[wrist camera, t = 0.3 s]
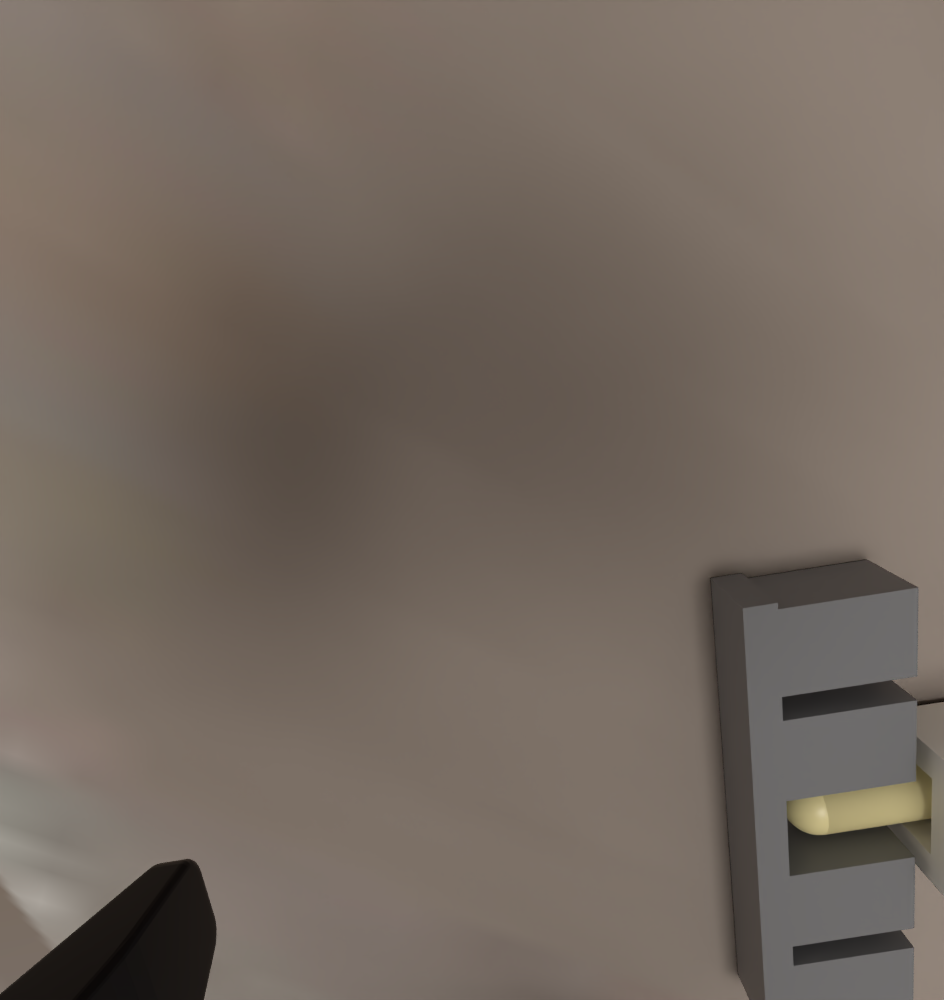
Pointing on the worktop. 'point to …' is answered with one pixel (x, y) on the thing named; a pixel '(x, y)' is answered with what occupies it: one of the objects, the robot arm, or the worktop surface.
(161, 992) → the robot arm
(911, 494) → the worktop surface
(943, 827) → the grey block
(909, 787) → the cord rig
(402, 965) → the worktop surface
